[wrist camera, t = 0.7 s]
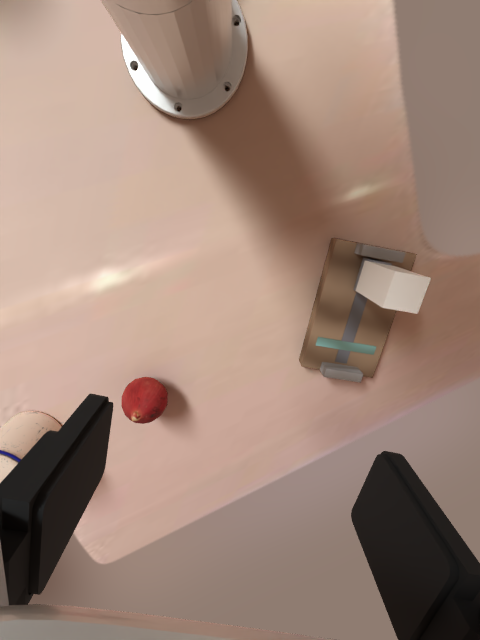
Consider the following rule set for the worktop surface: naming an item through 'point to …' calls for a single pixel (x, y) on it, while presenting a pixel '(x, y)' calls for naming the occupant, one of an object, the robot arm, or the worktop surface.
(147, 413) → the onion
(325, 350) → the wooden slider board
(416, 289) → the fader
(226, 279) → the worktop surface
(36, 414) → the teacup with lid
